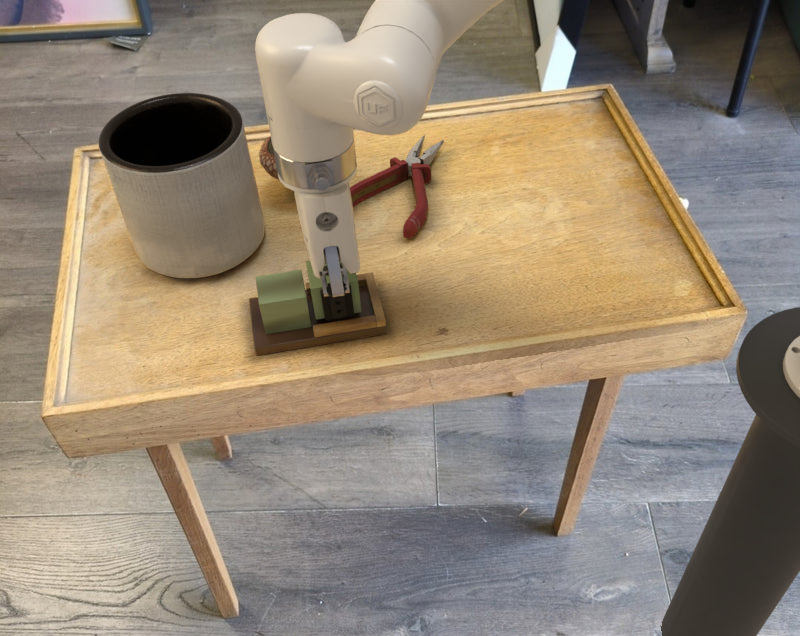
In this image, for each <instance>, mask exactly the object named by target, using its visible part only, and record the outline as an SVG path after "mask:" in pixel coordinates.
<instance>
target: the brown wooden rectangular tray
mask: <svg viewBox="0 0 800 636" xmlns="http://www.w3.org/2000/svg"><path fill="white" fill-rule="evenodd" d="M356 275H357V279H358V286H359V295H360V304H361V312H359V313H354V316H352V317H347V318H341V319H335V320H329V321H327V320H325V318H323V319H317V320H316V317H315V312H314V306H313V301H312V295H311V290H310V284H309V281H308V282H305V281H304V275H303V270H302V269H294V270H289V271H283V272H276V273H275V272H274V273H269V274H263V275H257V276H255V282H256V283H255V284H256V291H257V297H251V298H249V299H248V302H249V303H248V304H249V310H250V311H249V312H250V320H251V321H250V322H251V329H252V338H253V339H252V340H253V348H254V352H255V356H262V355H268V354H274V353H280V352H286V351H292V350H298V349H304V348H310V347H316V346H321V345H322V346H323V345H328V344H333V343H334V344H335V343H340V342H346V341H347V342H348V341H352V340H359V339H364V338H365V339H366V338H369V337H370V338H371V337H376V336H377V337H378V336H383V335H387V334H388V330H387V321H386V317H385V312H384V308H383V305H382V301H381V297H380V293H379V290H378V285H377V281H376V277H375V274H374V272H373V271H372V272H366V273H359V274H356Z"/></svg>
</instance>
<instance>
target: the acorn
mask: <svg viewBox="0 0 800 636" xmlns="http://www.w3.org/2000/svg"><path fill="white" fill-rule="evenodd" d="M258 159H259V163H260V165H261V167H262V168H263V169H264V170H265V172H266V173H267V174H268V175H269V176H270V177H272V178H274V179H276V180H278V181H280V180H279V178H278V173H277V167H276V162H275V156H274V151H273V145H272V140H271V135H270V136H269V137H267V138H266V139H265V140H264V141H263V142H262V144H261V145H260V150H259V152H258ZM291 191H292V193H293V194H294V191H293V190H291Z"/></svg>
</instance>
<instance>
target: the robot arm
mask: <svg viewBox="0 0 800 636" xmlns="http://www.w3.org/2000/svg"><path fill="white" fill-rule="evenodd" d="M502 2H505V0H374V2H372V4H371V6H370V7H369V9H368V11H367V12H366V14H365V16H364V17H363V20H362V22H361V24H360V26H359V28H358V31H357V33H356V34H355V37H354V38H352V39H350V40H349V41H345V39H344V35H343V33H342V31H341V29H340V27H339V26H338V25H337V23H335V22H334V21H333V20H332V19H330V18H328V17H326V16H324V15H321V14H317V13H312V12H311V13H310V12H299V13H298V12H297V13H296V12H295V13H289V14H286V15H283V16H282V15H281V16H279V17H276V18H274V19H272V20H270V21H269V22H267V23H266V24H265V25H264V26H263V27H262V28H261V29H259V32H258V34H257V35H256V39H255V44H254V52H255V61H256V64H257V70H258V75H259V76H258V77H259V81H260V86H261V87H260V88H261V91H262V97H263V102H264V107H265V113H266V117H267V124H268V129H269V134H270V136H271V140H272V145H273V151H274V156H275V162H276V167H277V173H278V178H279V180H278V181H279V182H280V184H282V185H283V187H285V188H286V189H289V190H291V191H292V190H293V191H294V193H293V194H294V199H295V205H296V210H297V215H298V220H299V225H300V228H301V233H302V238H303V241H304V244H305V245H304V246H305V248H306V252H307V256H308V258H309V261H310V263H311V266H312V269H313V273H314V276H316V277H317V278H319V279H320V277H321V283H322V289H323V290H320V292H321V298H322V305H323V311H324V317H325V320H327V321H329V320H335V319H341V318H347V317H352V316H354V308H353V299H352V291H351V286H349V282H348V275H347V270H348V272H349V273H350V274H352V273H356V274H358V273H359V272H361V269H362V265H361V264H362V263H361V259H360V251H359V244H358V237H357V229H356V221H355V214H354V212H355V211H354V207H353V205H352V198H351V192H350V187H351V186H350V182H351V181H352V180H353V179H354V177H355V176H356V175H357V174H356V173H357V172H358V171H357V170H358V162H357V154H356V153H357V152H356V141H355V133H354V129H355V130H358V131H362V132H365V133H370V134H373V135H377V136H378V135H379V136H397V135H401V134H404V133H407V132H408V131H411V130H412V129H414V127H415V126H417V125H418V124H419V122H420V121H421V120H422V119H423V116H424V114H425V112H426V111H427V108H428V104H429V101H430V98H431V95H432V91H433V88H434V84H435V80H436V77H437V73H438V70H439V67H440V64H441V61H442V57H443V55H445V53H446V52H447V51H448V49H450V47H451V46H452V45H453V44H454V43H455V42H456V41H458V39H460V38H461V37H462V36H463V35H464V33H466V31H468V30H469V29H470V28H471V27H472V26H473V25H475V24H476V22H478V21H479V20H480V19H481V18H483V16H485V14H487V13H488V12H489V11H491V10H492V9H493V8H494V7H496V6H498V5H499V4H500V3H502ZM339 262H342V263H339ZM325 264H327V265H326V266H324V265H325ZM341 273H342V275H341ZM328 275H329V280H330V283H328V284H327V281H326V276H328ZM342 279H343V281H342ZM783 372H784V375H785V379H786V381H787V382H788V384H789V386H790V388H791V389H792V390H793V391H794V392H795V394H796V395H797V396H798V397H799V398H800V336H799V337H797V338H796V339H795V340H794V341H793V342H792V343H791V344H790V345H789V347H788V349H787V351H786V353H785V356H784V360H783Z"/></svg>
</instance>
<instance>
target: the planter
mask: <svg viewBox="0 0 800 636" xmlns="http://www.w3.org/2000/svg"><path fill="white" fill-rule="evenodd" d="M245 129H246V128H245V124H244V120H243V117H242V114H241V112H240V111H239V110H238V108H236V106H235V105H233V104H232V103H231V102H229V101H227V100H225V99H223V98H220V97H218V96H215V95H211V94H206V93H197V92H178V93H177V92H175V93H167V94H162V95H157V96H154V97H150V98H146V99H144V100H141V101H139V102H135V103H134V104H132V105H129V106H127V107H126V108H124V109H122V110H121V111H120V112H118V113H117V114H115V115H114V116H113V117H112V118H110V120H109V121H108V122H106V124H105V125H104V127H102V130H101V132H100V134H99V137H98V149H99V153H100V155H101V158H102V161H103V164H104V166H105V169H106V171H107V175H108V177H109V180H110V184H111V186H112V188H113V191H114V194H115V197H116V200H117V201H116V202H117V203H118V206H119V209H120V213H121V215H122V218H123V221H124V224H125V226H126V230H127V232H128V236H129V239H130V241H131V244H132V248H133V249H134V252H135V254H136V255H137V257H138V259H139V261H141V263H142V264H143V265H144V266H146V268H148V269H150V270H151V271H153V272H155V273H157V274H160V275H163V276H166V277H171V278H177V279H201V278H206V277H212V276H215V275H219V274H221V273H224V272H227V271H229V270H231V269H234V268H235V267H237V266H239V265H240V264H242V263H243V262H244V261H247V259H248V258H249V257H251V256H252V255H253V254H254V253H255V252H256V251H257V249H258V248H259V246H260V245H261V243H262V242H263V239H264V236H265V232H266V231H265V230H266V223H265V215H264V211H263V205H262V202H261V198H260V193H259V188H258V184H257V179H256V176H255V170H254V166H253V162H252V157H251V153H250V148H249V144H248V143H249V142H248V139H247V135H246V130H245Z"/></svg>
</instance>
